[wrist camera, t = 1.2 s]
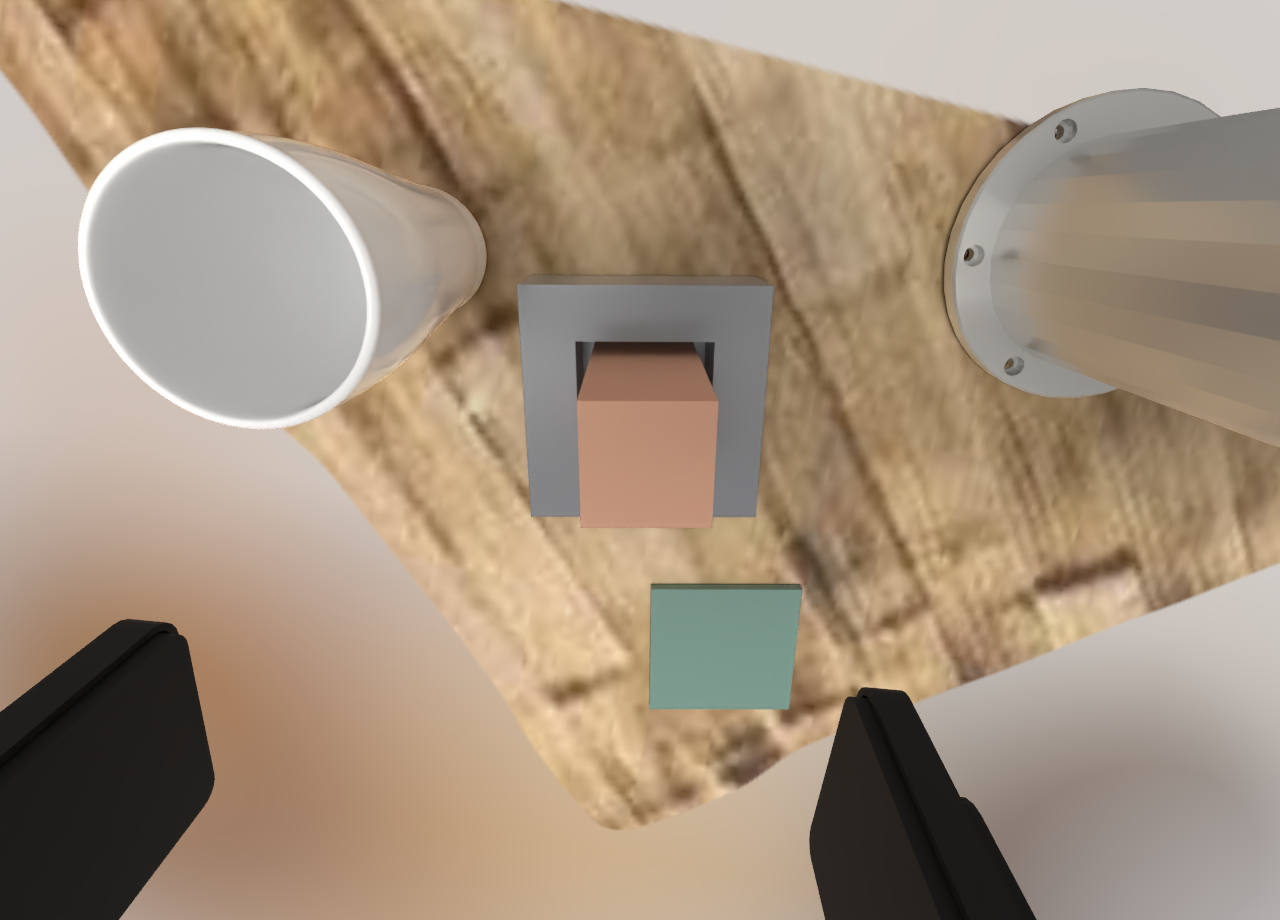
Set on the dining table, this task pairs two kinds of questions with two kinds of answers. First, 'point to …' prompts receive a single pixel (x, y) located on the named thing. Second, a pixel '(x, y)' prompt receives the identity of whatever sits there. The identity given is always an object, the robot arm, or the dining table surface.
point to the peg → (646, 437)
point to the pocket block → (642, 312)
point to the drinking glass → (268, 271)
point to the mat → (722, 645)
